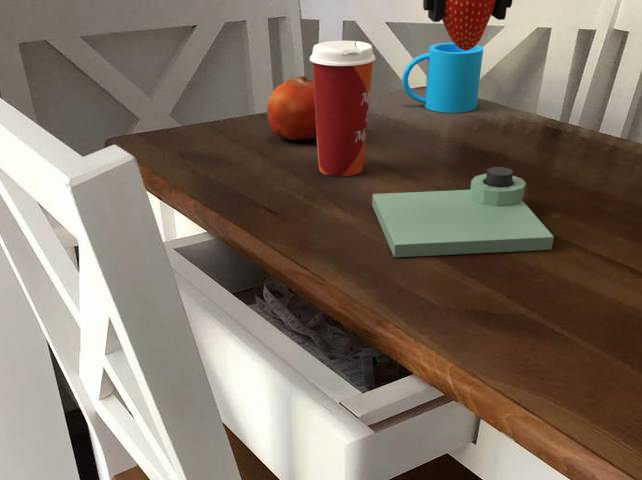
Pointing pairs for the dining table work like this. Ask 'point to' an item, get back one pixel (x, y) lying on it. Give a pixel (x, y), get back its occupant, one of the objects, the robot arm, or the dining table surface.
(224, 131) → the dining table surface
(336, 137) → the paper cup
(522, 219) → the scale
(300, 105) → the tomato
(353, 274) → the dining table surface
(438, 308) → the dining table surface
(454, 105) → the mug
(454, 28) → the fruit
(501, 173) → the button
